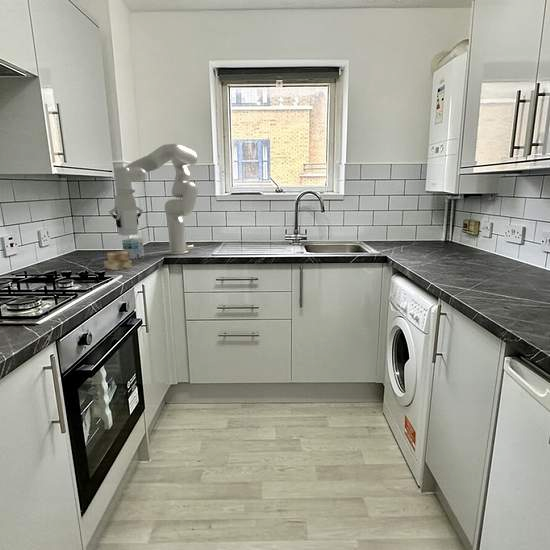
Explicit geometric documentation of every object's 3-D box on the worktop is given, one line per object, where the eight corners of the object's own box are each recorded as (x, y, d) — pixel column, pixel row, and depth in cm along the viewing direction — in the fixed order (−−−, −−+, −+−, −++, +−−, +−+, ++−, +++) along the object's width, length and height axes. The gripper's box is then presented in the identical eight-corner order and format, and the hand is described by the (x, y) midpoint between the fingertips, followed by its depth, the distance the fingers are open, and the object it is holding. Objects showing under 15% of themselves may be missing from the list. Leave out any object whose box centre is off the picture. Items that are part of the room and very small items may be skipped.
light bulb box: (134, 259, 215) (132, 240, 213) (123, 259, 217) (121, 240, 214) (144, 255, 225) (142, 237, 223) (134, 255, 227) (132, 237, 224)
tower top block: (126, 258, 200) (125, 250, 199) (129, 261, 192) (128, 253, 191) (108, 260, 196) (107, 252, 195) (109, 263, 188) (108, 255, 187)
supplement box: (138, 234, 201) (136, 210, 198) (124, 236, 196) (122, 210, 193) (132, 233, 206) (129, 209, 203) (118, 234, 201) (115, 210, 198)
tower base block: (123, 265, 201) (122, 258, 201) (132, 268, 195) (131, 260, 194) (104, 269, 194) (103, 261, 194) (113, 271, 188) (112, 263, 187)
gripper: (139, 192, 204) (142, 225, 208) (104, 192, 194) (108, 227, 198) (143, 192, 198) (146, 226, 202) (108, 192, 188) (112, 228, 192)
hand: (127, 226), depth 200 cm, fingers closed on supplement box, 8 cm apart
